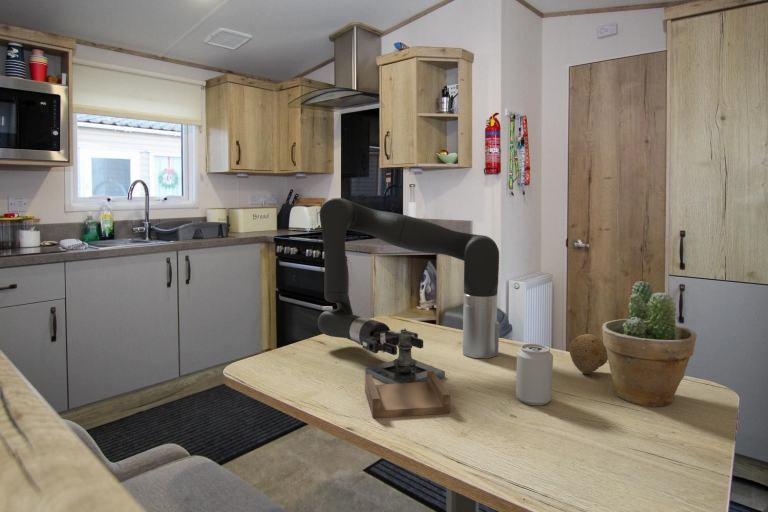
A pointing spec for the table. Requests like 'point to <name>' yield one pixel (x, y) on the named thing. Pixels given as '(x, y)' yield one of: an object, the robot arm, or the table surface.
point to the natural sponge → (588, 353)
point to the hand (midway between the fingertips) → (409, 347)
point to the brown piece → (407, 397)
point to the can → (534, 374)
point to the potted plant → (648, 349)
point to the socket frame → (385, 375)
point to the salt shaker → (404, 356)
